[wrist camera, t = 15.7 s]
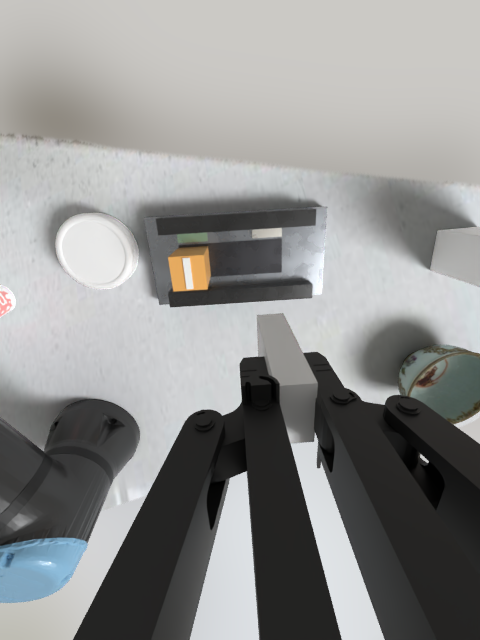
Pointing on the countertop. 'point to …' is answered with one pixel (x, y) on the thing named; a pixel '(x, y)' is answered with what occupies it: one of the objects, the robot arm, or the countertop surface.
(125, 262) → the coaster
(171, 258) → the lever
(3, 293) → the beverage cup
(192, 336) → the countertop surface
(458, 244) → the milk
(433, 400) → the bowl
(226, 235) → the panel
